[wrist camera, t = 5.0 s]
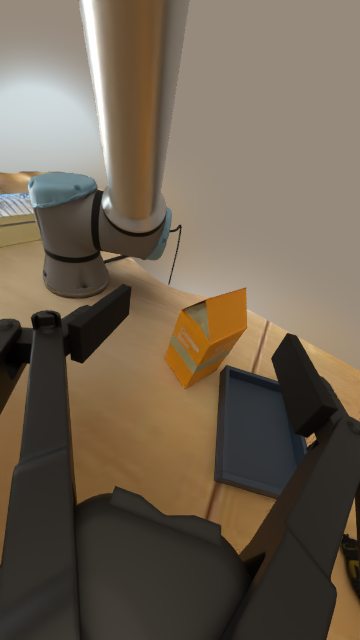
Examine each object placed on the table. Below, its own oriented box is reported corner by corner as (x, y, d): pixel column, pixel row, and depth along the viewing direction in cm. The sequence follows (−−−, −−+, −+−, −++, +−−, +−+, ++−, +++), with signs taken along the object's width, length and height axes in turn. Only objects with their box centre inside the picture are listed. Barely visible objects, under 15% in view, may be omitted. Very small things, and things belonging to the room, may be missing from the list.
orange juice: (216, 370, 42) (266, 303, 28) (184, 389, 38) (225, 319, 24) (195, 344, 46) (230, 272, 32) (164, 358, 41) (188, 281, 27)
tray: (220, 372, 42) (226, 364, 40) (283, 392, 42) (292, 385, 40) (214, 480, 29) (222, 478, 26) (305, 508, 29) (322, 508, 27)
